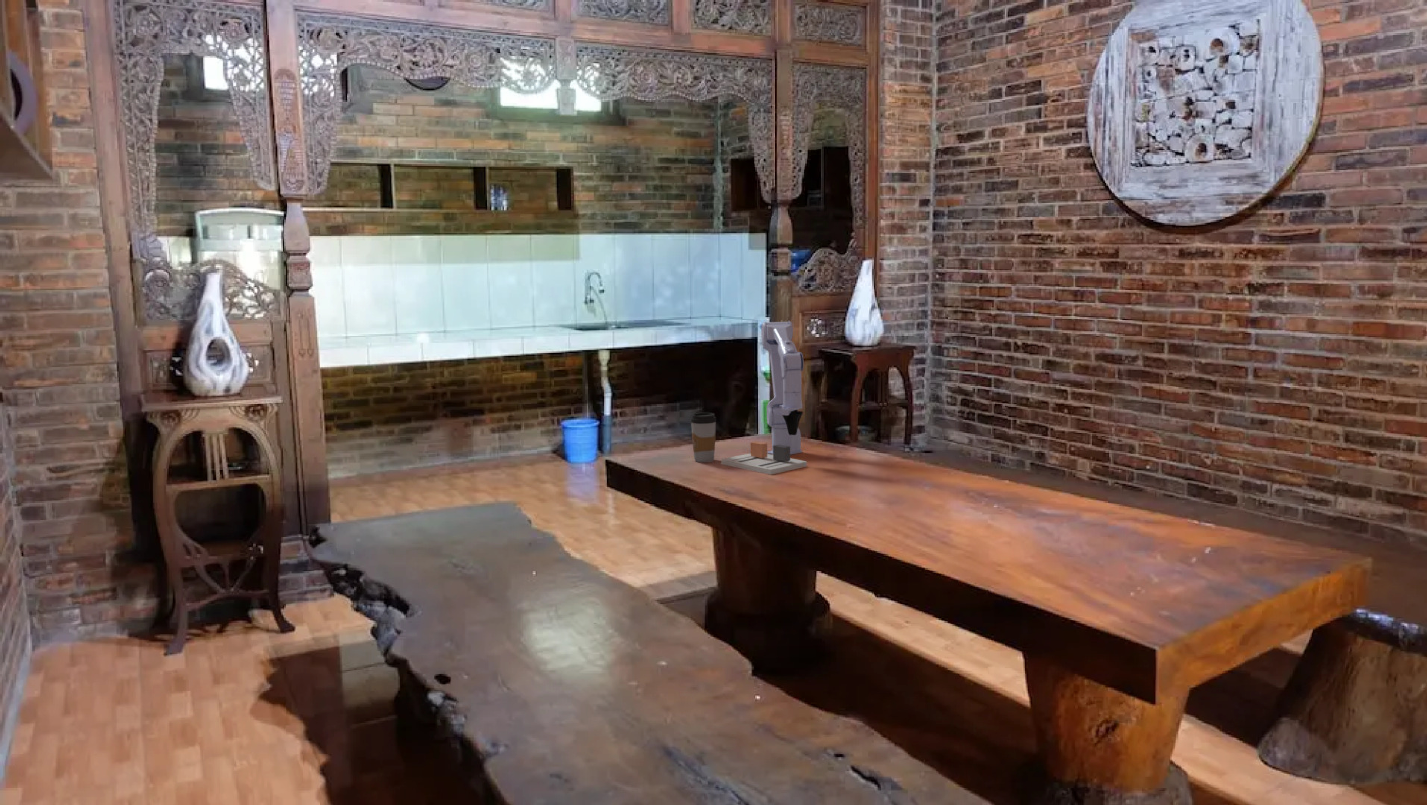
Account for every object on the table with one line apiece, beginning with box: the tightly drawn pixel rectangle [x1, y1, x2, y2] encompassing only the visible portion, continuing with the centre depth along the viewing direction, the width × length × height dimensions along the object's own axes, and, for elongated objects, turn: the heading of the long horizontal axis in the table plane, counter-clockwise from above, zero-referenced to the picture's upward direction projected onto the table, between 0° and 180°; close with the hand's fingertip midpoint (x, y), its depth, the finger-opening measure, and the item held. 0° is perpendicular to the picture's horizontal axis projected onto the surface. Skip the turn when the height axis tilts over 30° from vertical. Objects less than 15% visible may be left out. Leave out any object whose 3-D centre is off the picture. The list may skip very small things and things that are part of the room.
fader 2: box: [772, 444, 791, 462], centre depth 307 cm, size 2×5×4 cm, turn 42°
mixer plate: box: [720, 452, 808, 475], centre depth 309 cm, size 16×22×2 cm
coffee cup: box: [690, 412, 717, 463], centre depth 317 cm, size 8×8×15 cm
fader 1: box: [750, 441, 768, 458], centre depth 313 cm, size 2×5×4 cm, turn 42°
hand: (792, 434), depth 310 cm, fingers closed
